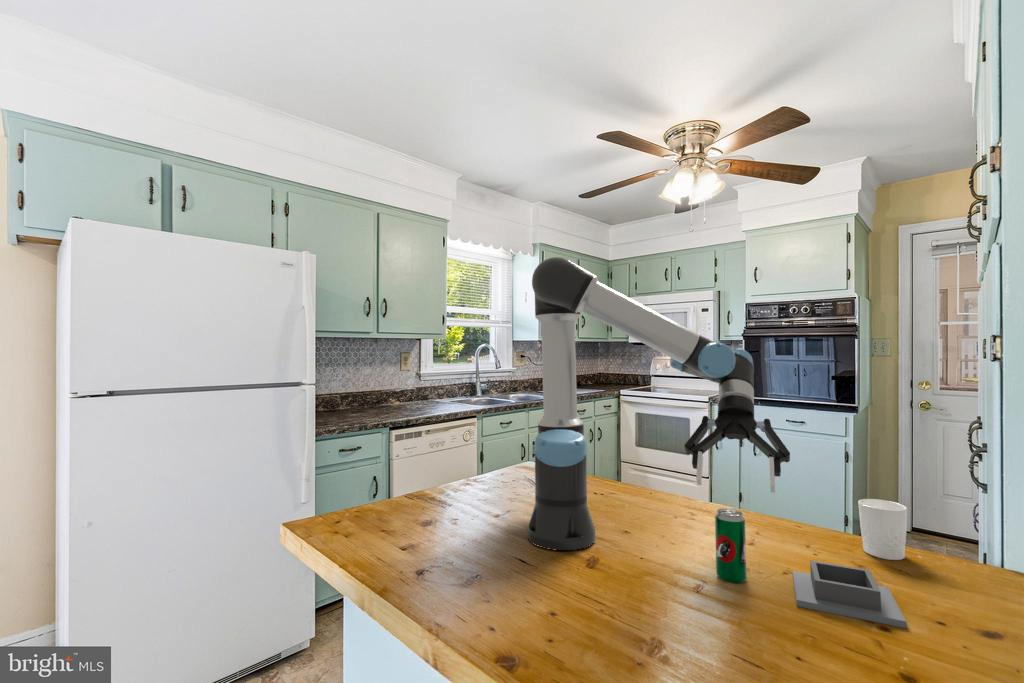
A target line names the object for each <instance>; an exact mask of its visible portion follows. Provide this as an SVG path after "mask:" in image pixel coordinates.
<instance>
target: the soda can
mask: <svg viewBox="0 0 1024 683" xmlns="http://www.w3.org/2000/svg"><path fill="white" fill-rule="evenodd" d="M743 515H744V513H743V512H742V511H741V510H738V509H733V508H728V507H727V508H725V507H724V508H718V509H717V510H716V514H715V515H714V526H715V527H714V528H715V529H714V530H715V531H714V532H715V537H714V538H715V573H716V575H717V576H718V578H719V579H720V580H722V581H724V582H726V583H732V584H741V583H744V582H745V581H746V580H747V575H748V574H747V546H746V543H747V542H746V540H747V538H746V536H747V535H746V519H745V517H744V516H743Z"/></svg>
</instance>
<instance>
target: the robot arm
mask: <svg viewBox="0 0 1024 683" xmlns="http://www.w3.org/2000/svg"><path fill="white" fill-rule="evenodd" d="M531 286H532V291H533V293H534V315H535V319H536V320H537V321H539V323H540V325H541V328H540V329H541V362H542V364H541V365H542V366H541V367H542V399H543V400H542V401H543V402H542V403H543V404H542V405H543V416H542V418H541V419H540V420H539V421H538V422H537V435H536V437H535V439H534V447H533V453H534V476H535V477H534V482H535V484H534V485H535V487H534V488H535V490H534V491H535V495H534V497H535V498H534V499H535V502H534V505H533V506H534V507H533V510H532V513H531V515H530V518H529V522H528V528H527V539H528V538H529V540H530V541H531V542H532V543H534V544H536V545H539V546H542V547H545V548H550V549H556V550H573V551H578V550H577V549H580V550H582V549H581V548H584V547H587V546H589V545H591V544H592V543H593V542H594V541H595V542H596V527H595V525H594V522H593V518H592V514H591V512H590V509H589V507H588V480H587V478H588V477H587V472H588V470H587V467H588V466H587V453H588V446H587V440H586V437H585V430H584V429H585V426H584V421H583V420H582V419H581V418H579V416H578V393H577V359H576V356H577V354H576V327H575V326H576V325H575V324H576V322H577V320H578V319H579V318H580V317H581V313H582V312H583V313H585V314H587V315H589V316H590V317H592V318H593V319H594V318H595V319H596V320H598V321H600V322H602V323H604V324H605V325H608V326H610V327H611V328H613V329H615V330H617V331H619V332H621V333H623V334H625V335H626V336H629V337H631V338H633V339H634V340H635V341H638V342H640V343H642V344H644V345H646V346H648V347H649V348H652V349H653V350H655V351H657V352H659V353H661V354H662V355H665V356H667V357H668V358H670V360H669V364H670V367H671V368H672V369H675V370H678V371H680V372H681V373H685V374H688V375H692V376H695V377H698V378H700V379H705V380H707V381H709V382H713V383H716V384H718V400H717V402H718V404H717V417H716V418H715V419H713V418H709V416H707V415H704V416H702V418H701V423H700V425H699V426H698V427H697V428H696V429H695V431H694V432H693V433H692V435H691V436H690V437H689V438H688V440H687V441H686V442H685V444H684V450H685V454H687V455H691V456H692V458H691V459H692V460H691V466H692V469H695V470H696V473H695V474H696V476H695V480H696V483H697V486H701V485H702V478H703V466H704V457H703V454H705V453H706V452H707V451H708V450H710V449H711V448H712V447H714V446H715V445H716V444H718V442H720V441H723V440H725V438H727V439H728V440H739V441H743V440H744V439H745V440H747V441H748V442H749V443H750V444H753V445H754V446H755V447H757V449H758V450H759V451H760V452H762V453H763V454H764V456H766V457H767V458H768V460H769V461H768V462H769V485H770V487H769V489H770V493H772V494H774V493H776V482H775V479H776V478H775V477H781V474H782V468H781V467H782V466H781V464H782V463H789V462H790V460H791V453H790V452H791V451H789V449H788V448H787V446H786V445H785V444H784V442H783V441H782V440H781V439H780V438H781V437H780V436H778V434H777V432H776V431H775V430H774V429H773V427H772V424H771V419H769V418H764V419H763V421H762V420H761V421H757V420H755V389H754V386H755V385H754V382H755V381H754V375H755V374H754V373H755V367H754V360H753V357H752V355H751V354H750V353H749V351H746V350H745V349H742V348H740V347H739V348H731V347H730V346H728V345H727V344H725V343H723V342H722V343H721V342H717V341H712V340H711V339H709V338H708V337H705V336H702V335H701V334H699V333H698V332H695V331H693V330H692V329H689V328H688V327H686V326H684V325H682V324H680V323H678V322H676V321H674V320H672V319H670V318H668V317H667V316H665V315H662V314H660V313H658V312H657V311H655V310H653V309H651V308H650V307H647V306H645V305H643V304H642V303H639V302H638V301H636V300H634V299H632V298H630V297H628V296H626V295H625V294H623V293H620V292H618V291H616V290H614V289H612V288H610V287H609V286H607V285H605V284H604V283H602V282H599V280H598V276H597V275H595V274H594V273H592V272H590V271H588V270H586V269H584V268H583V267H581V266H579V265H577V263H574V262H573V261H571V260H569V259H567V258H564V257H559V256H558V257H557V256H555V257H553V256H552V257H550V258H546V259H544V260H543V261H541V262H540V263H539V264H538V265H537V266H536V268H535V269H534V271H533V274H532V279H531ZM714 426H715V429H714V431H712V432H711V433H709V434H708V435H707V436H706V434H707V433H708V431H709V430H711V428H712V427H714ZM756 429H760V431H761V432H762V433H764V434H765V436H766V438H767V439H768V441H769V442H770V444H771V445H772V446H771V445H770V444H769V443H768V442H767V441H766V440H765V439H763V437H761V436H760V435H759V434H758V433H757V431H756ZM705 436H706V437H705ZM704 437H705V438H704ZM529 540H528V541H529ZM530 541H529V542H530ZM531 542H530V543H531ZM595 542H594V543H595ZM532 543H531V544H532ZM534 544H533V545H534ZM536 545H535V546H536ZM592 545H593V544H592ZM592 545H591V546H592ZM589 547H590V546H589ZM587 548H588V547H587ZM584 549H585V548H584Z"/></svg>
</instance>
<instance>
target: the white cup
mask: <svg viewBox="0 0 1024 683" xmlns="http://www.w3.org/2000/svg"><path fill="white" fill-rule="evenodd" d="M857 503H858V514H859V515H858V516H859V524H860V533H861V534H860V535H861V539H862V549H863V551H864V552H865V553H867V554H868V555H871V556H873V557H876V558H879V559H884V560H891V561H902V560H903V559H906V543H907V525H908V524H907V520H908V519H907V518H908V517H907V516H908V515H907V514H908V508H907V506H905V505H903V504H902V503H898V502H894V501H890V500H885V499H878V498H876V499H875V498H862V499H859V500H858V501H857Z"/></svg>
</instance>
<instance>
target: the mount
mask: <svg viewBox="0 0 1024 683" xmlns="http://www.w3.org/2000/svg"><path fill="white" fill-rule="evenodd" d="M809 562H810V564H809V566H810V573H808V572H803V571H798V570H792V579H793V587H794V594H795V596H794V597H795V602H796V607H799V608H803V609H804V608H805V609H810V610H814V611H820V612H825V613H829V614H835V615H838V616H839V615H840V616H845V617H847V618H854V619H859V620H864V621H869V622H873V623H878V624H884V625H889V626H893V627H899V628H902V629H907V620H906V618H905V616H904V614H903V613H902V611H901V609H900V607H899V606H898V604H897V601H896V600H895V598H894V596H893V594H892V592H891V591H890V588H889V587H888V586H883V585H880V584H879V585H878V584H877V582H876V580H875V577H874V575H873V574H872V571H871V570H870V569H866V568H860V567H855V566H847V565H842V564H835V563H828V562H824V561H823V562H822V561H817V560H816V561H815V560H810V561H809Z"/></svg>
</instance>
